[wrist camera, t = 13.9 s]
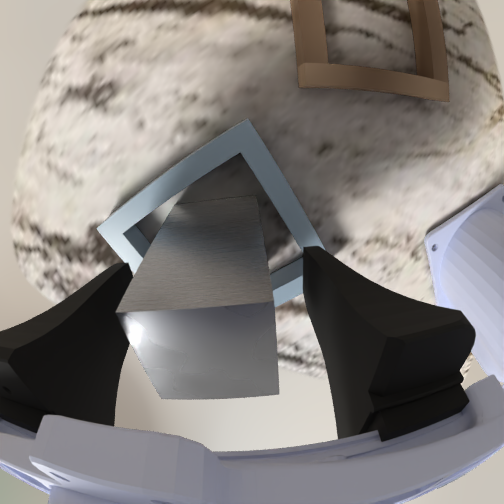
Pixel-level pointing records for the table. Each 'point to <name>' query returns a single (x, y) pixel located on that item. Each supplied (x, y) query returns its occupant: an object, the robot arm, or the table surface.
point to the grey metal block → (205, 304)
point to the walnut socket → (365, 78)
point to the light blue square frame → (194, 167)
